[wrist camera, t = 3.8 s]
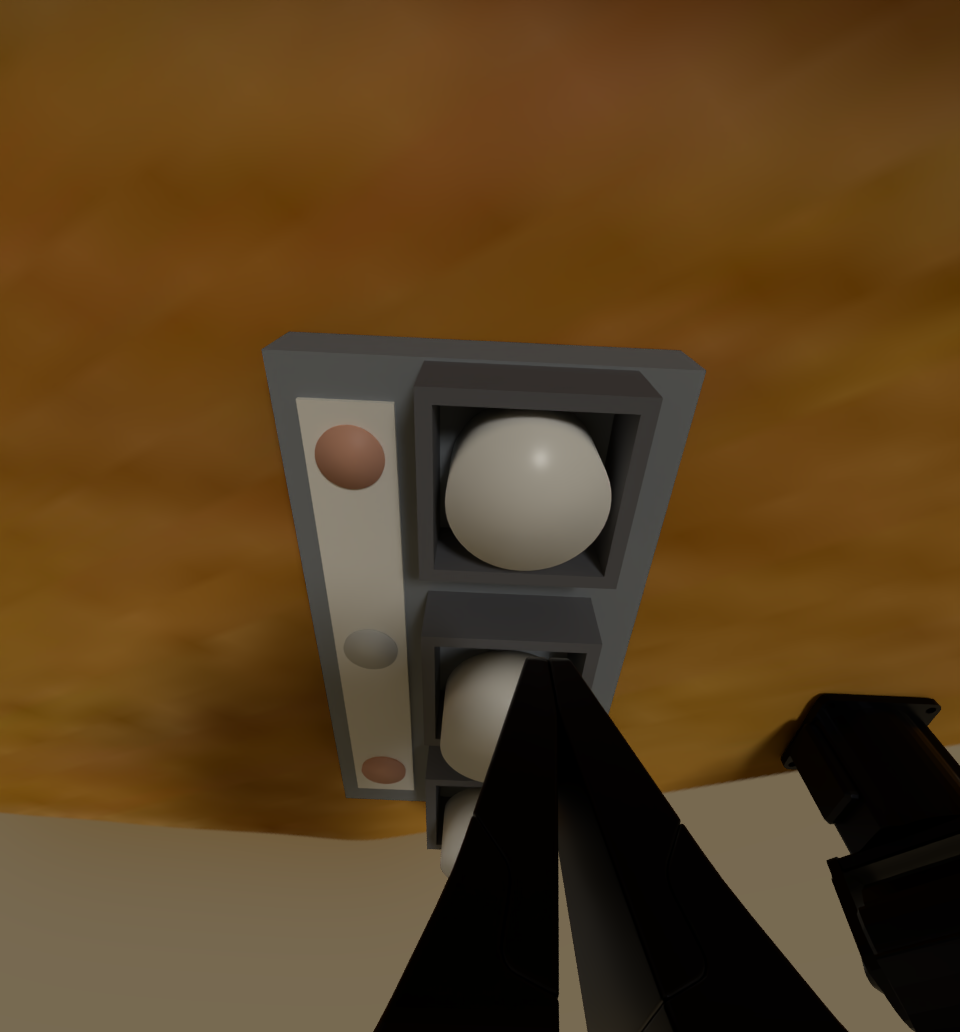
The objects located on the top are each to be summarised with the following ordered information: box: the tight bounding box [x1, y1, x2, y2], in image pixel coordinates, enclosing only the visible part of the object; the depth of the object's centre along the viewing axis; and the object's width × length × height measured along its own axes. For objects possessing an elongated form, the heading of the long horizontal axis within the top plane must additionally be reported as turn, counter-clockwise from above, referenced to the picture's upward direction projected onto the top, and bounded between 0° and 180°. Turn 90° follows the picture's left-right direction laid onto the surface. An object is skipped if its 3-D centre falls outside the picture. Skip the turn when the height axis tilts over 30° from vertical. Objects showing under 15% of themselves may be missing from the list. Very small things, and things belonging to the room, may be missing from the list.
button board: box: [262, 332, 706, 849], centre depth 23 cm, size 14×26×5 cm, turn 178°
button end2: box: [440, 787, 482, 878], centre depth 25 cm, size 5×5×2 cm
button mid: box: [440, 650, 538, 782], centre depth 20 cm, size 5×5×2 cm
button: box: [445, 408, 611, 571], centre depth 16 cm, size 5×5×2 cm
